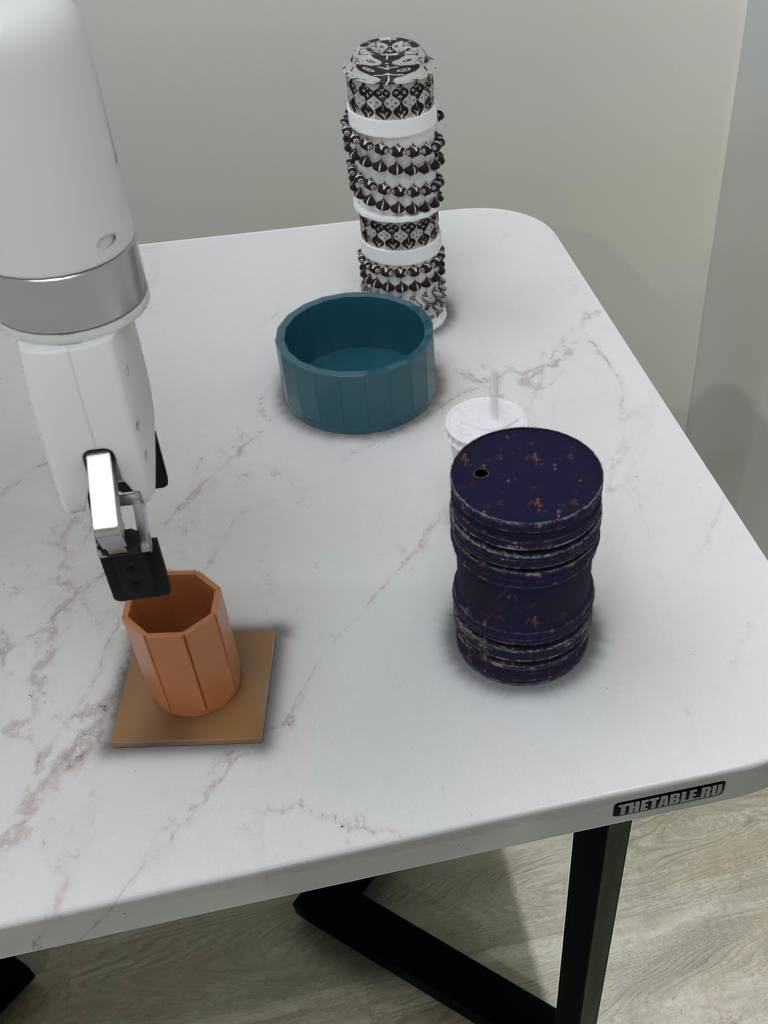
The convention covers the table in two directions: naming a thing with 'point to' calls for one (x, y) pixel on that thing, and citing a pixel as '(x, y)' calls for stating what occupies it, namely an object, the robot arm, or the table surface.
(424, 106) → the decorative candle
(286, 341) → the big pot
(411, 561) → the table surface
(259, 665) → the trivet
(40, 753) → the table surface
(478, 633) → the navy ridged cylinder
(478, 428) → the smoothie
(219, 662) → the small pot
